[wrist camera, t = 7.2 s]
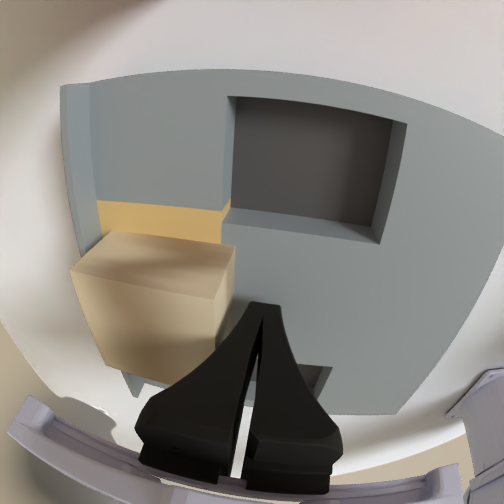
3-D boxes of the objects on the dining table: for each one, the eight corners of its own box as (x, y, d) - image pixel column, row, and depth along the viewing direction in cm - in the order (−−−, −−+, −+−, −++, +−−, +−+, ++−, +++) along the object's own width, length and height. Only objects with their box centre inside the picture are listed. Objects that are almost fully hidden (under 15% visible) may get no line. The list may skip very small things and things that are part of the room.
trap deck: (507, 142, 9) (550, 161, 6) (391, 394, 19) (397, 430, 16) (108, 82, 11) (60, 86, 8) (148, 362, 21) (132, 396, 18)
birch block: (235, 245, 12) (214, 299, 9) (231, 342, 15) (217, 395, 12) (112, 230, 12) (68, 270, 9) (132, 321, 16) (105, 365, 13)
